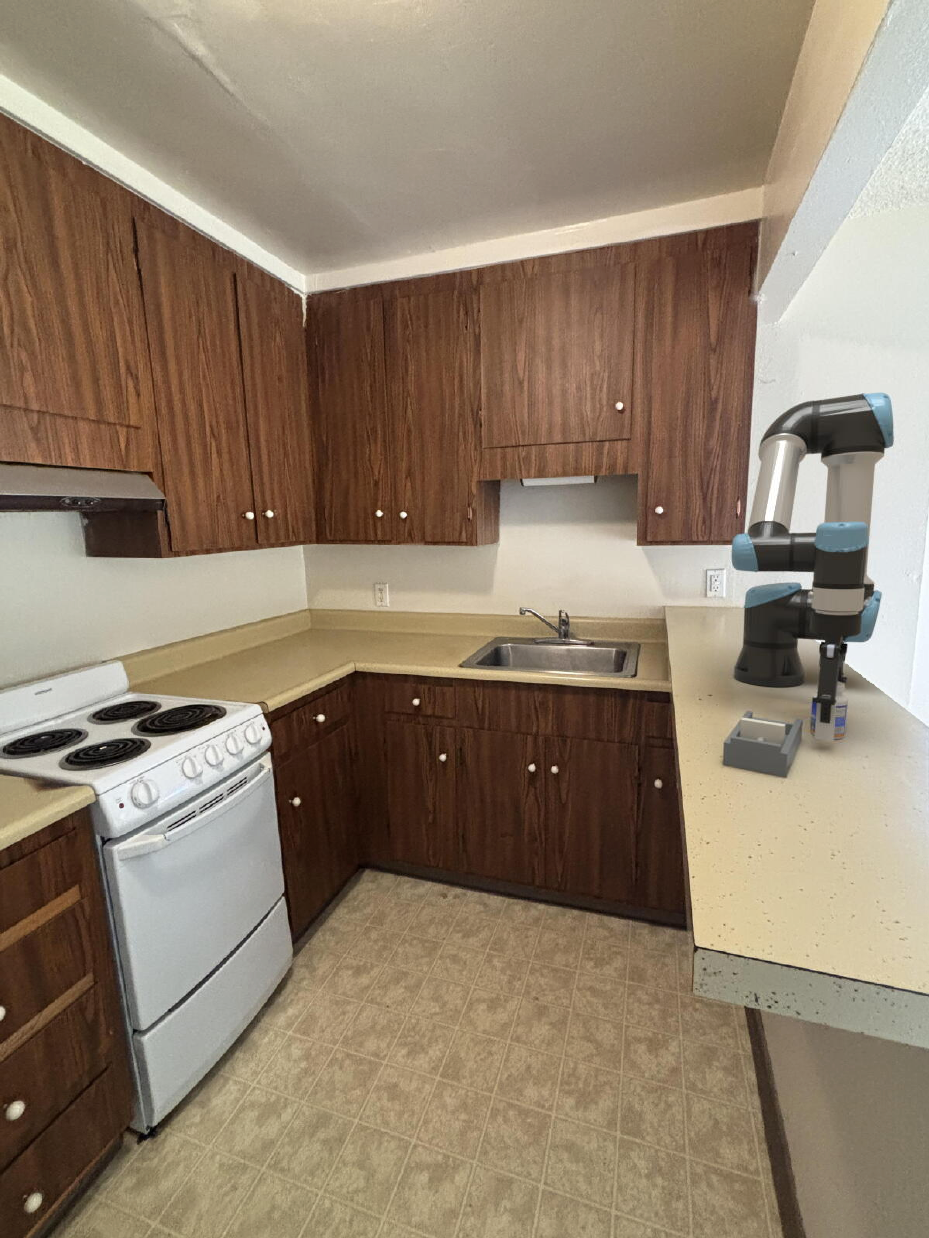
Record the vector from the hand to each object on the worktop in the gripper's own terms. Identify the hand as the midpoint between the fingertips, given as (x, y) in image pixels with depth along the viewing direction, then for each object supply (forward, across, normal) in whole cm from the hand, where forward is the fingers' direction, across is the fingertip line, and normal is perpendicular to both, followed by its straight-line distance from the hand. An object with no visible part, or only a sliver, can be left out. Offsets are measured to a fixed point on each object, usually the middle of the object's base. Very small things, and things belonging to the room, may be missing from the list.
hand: (827, 727), depth 102 cm
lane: (+1, +14, -8) cm, 16 cm away
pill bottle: (+2, 0, 0) cm, 2 cm away
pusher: (0, +18, -8) cm, 20 cm away
